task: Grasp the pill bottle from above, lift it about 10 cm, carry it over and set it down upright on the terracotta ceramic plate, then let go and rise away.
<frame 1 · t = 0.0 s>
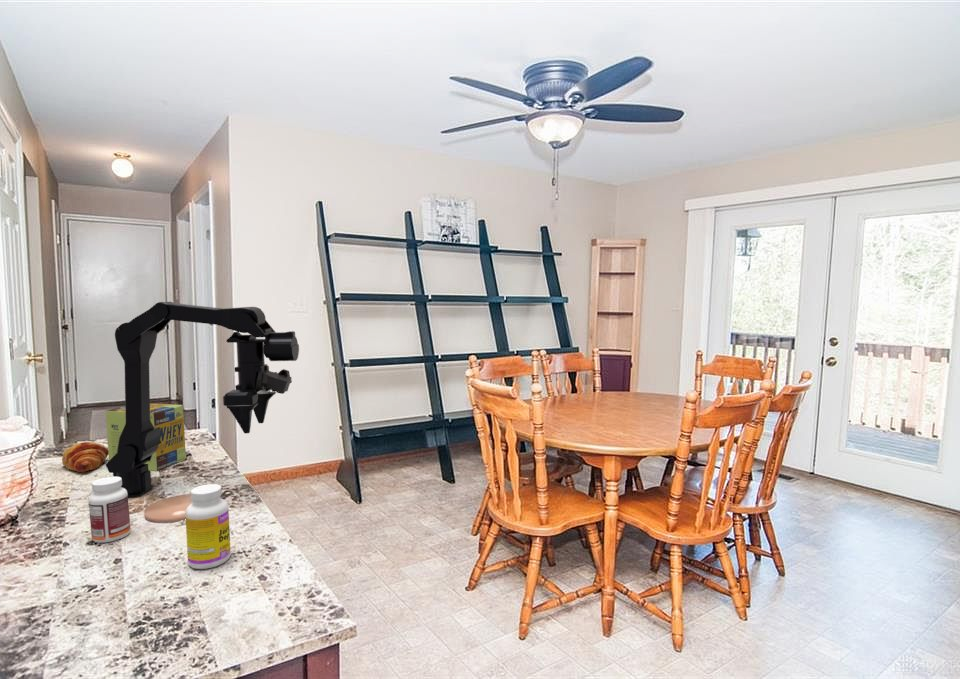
hand: (254, 428, 126), 15 cm above the counter, tool pointing down, fingers open, 9 cm apart
pill bottle: (111, 537, 103), on the counter
protein box: (148, 464, 147), on the counter
terracotta plate: (180, 509, 116), on the counter
croissant: (86, 465, 147), on the counter
supplement bottle: (210, 561, 94), on the counter
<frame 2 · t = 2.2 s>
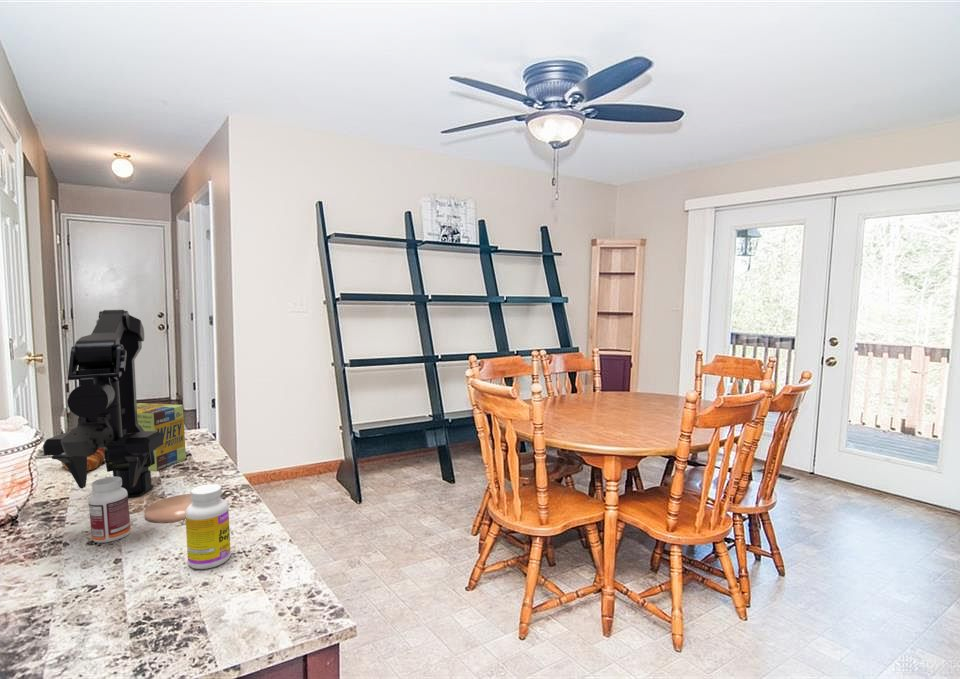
hand: (108, 487, 102), 10 cm above the counter, tool pointing down, fingers open, 9 cm apart
nothing on the counter moved.
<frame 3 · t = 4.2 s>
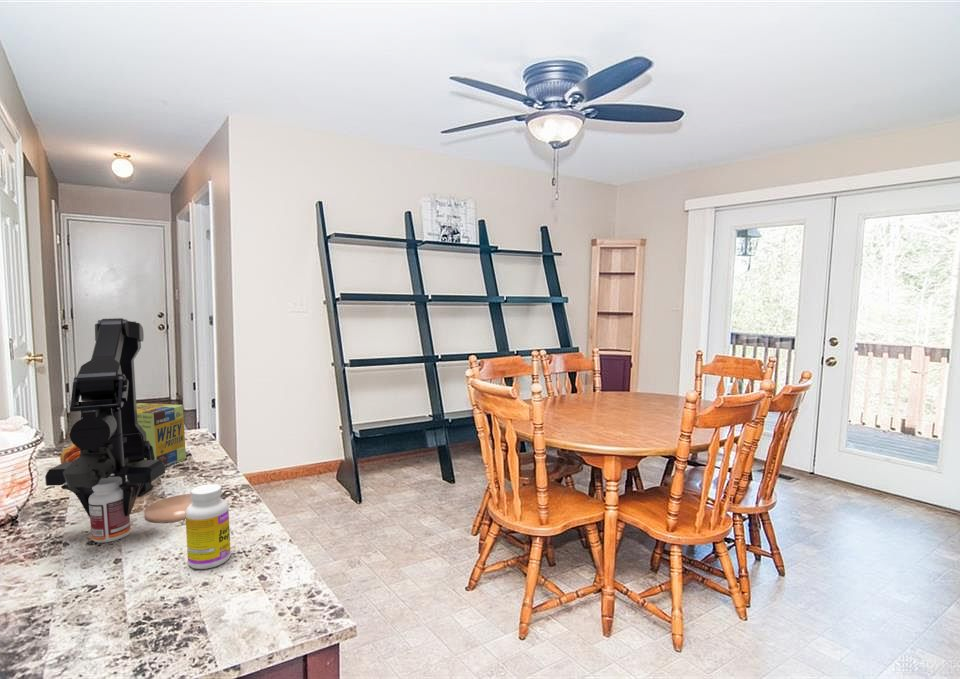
hand: (109, 516, 103), 4 cm above the counter, tool pointing down, fingers closed on pill bottle, 6 cm apart
pill bottle: (111, 537, 103), on the counter, touching gripper
everything else where it was.
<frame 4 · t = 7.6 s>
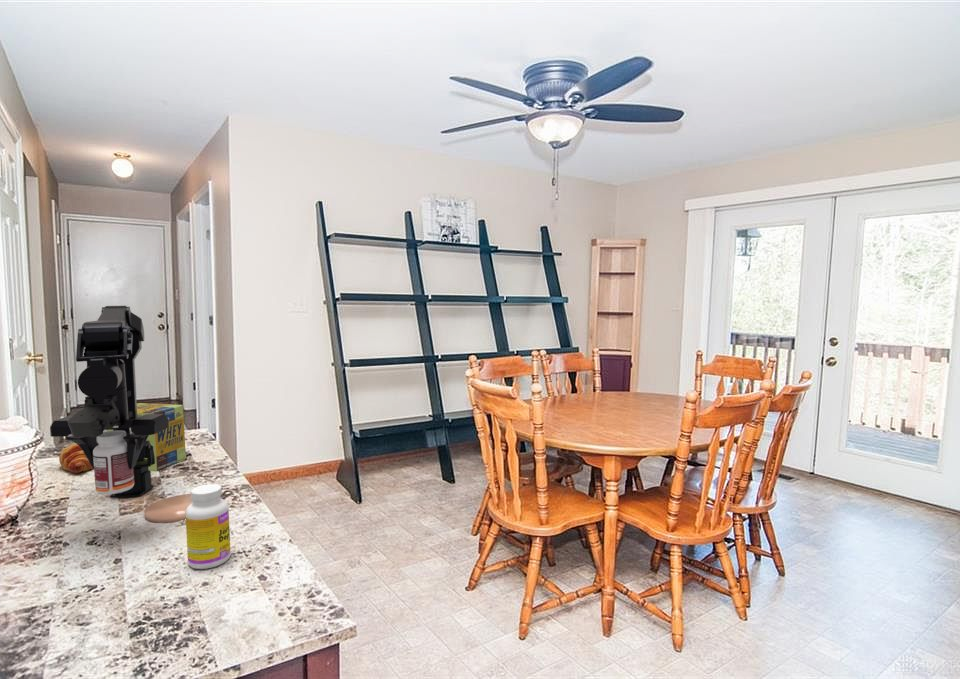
hand: (114, 468, 103), 13 cm above the counter, tool pointing down, fingers closed on pill bottle, 6 cm apart
pill bottle: (115, 490, 104), point 9 cm above the counter, touching gripper
everything else where it was.
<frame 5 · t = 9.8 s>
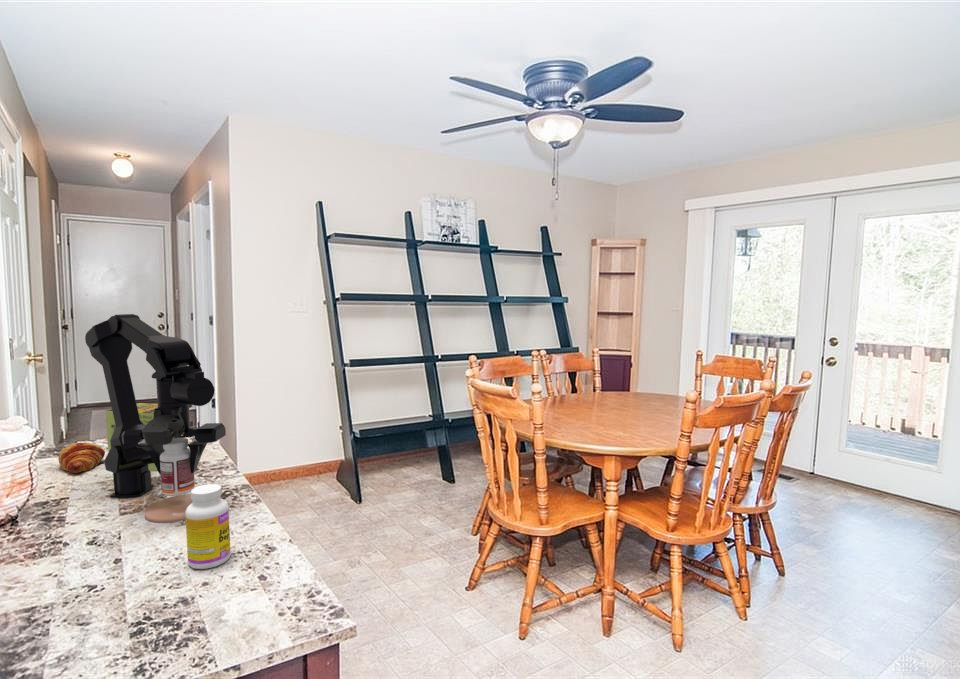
hand: (177, 472, 115), 8 cm above the counter, tool pointing down, fingers closed on pill bottle, 6 cm apart
pill bottle: (178, 492, 115), point 4 cm above the counter, touching gripper
everything else where it was.
when the fingers open (6 cm above the counter, at t = 11.5 s): pill bottle stays where it is, resting on terracotta plate.
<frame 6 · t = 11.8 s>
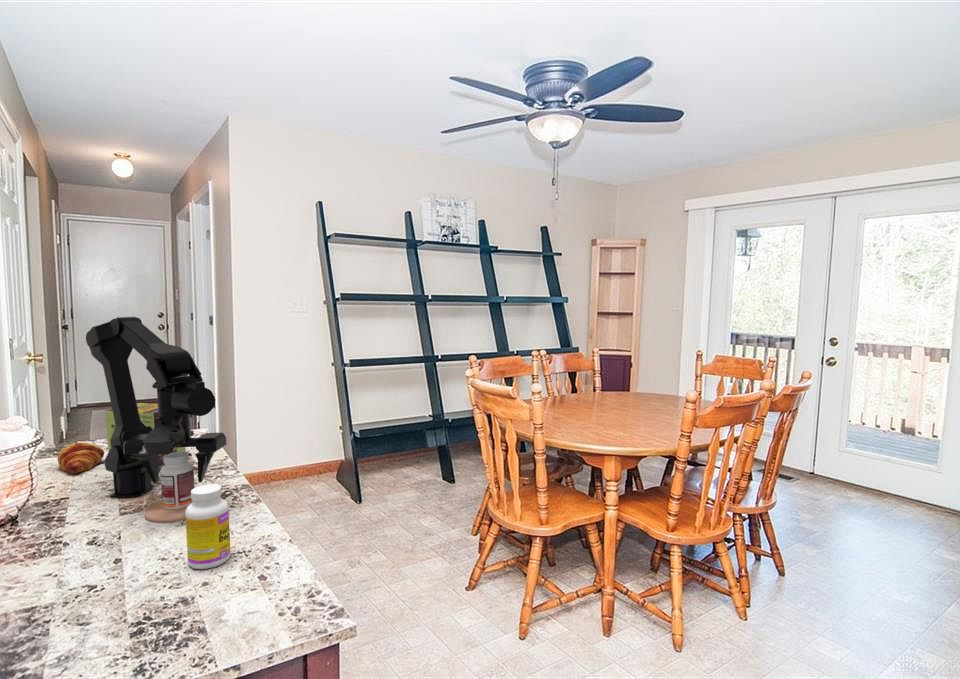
hand: (178, 482, 115), 6 cm above the counter, tool pointing down, fingers open, 9 cm apart
pill bottle: (179, 505, 116), point 1 cm above the counter, touching terracotta plate
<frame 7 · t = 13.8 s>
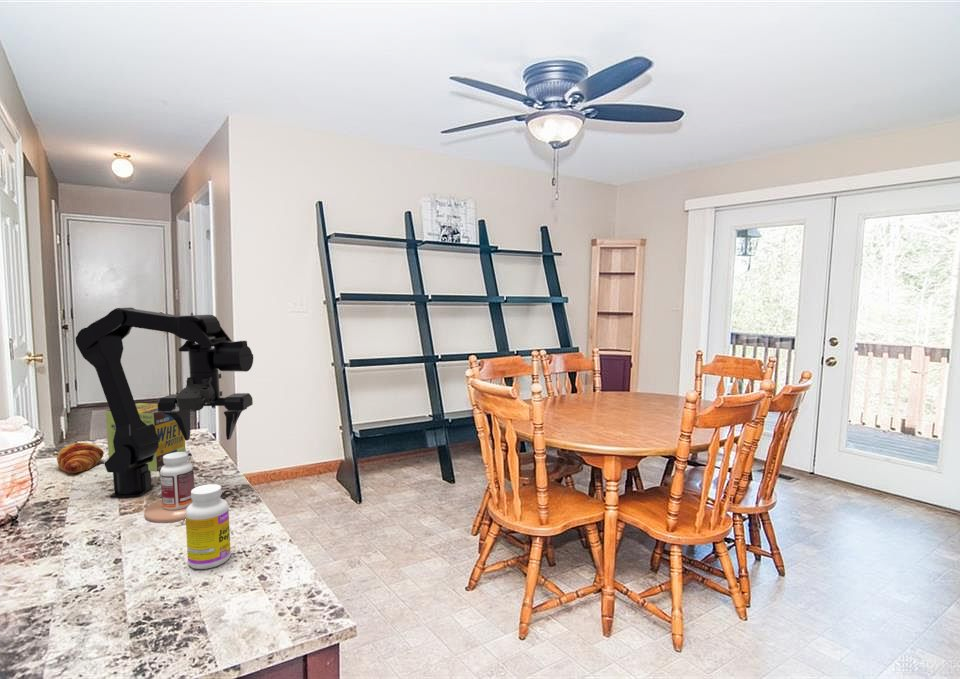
hand: (208, 439, 122), 13 cm above the counter, tool pointing down, fingers open, 9 cm apart
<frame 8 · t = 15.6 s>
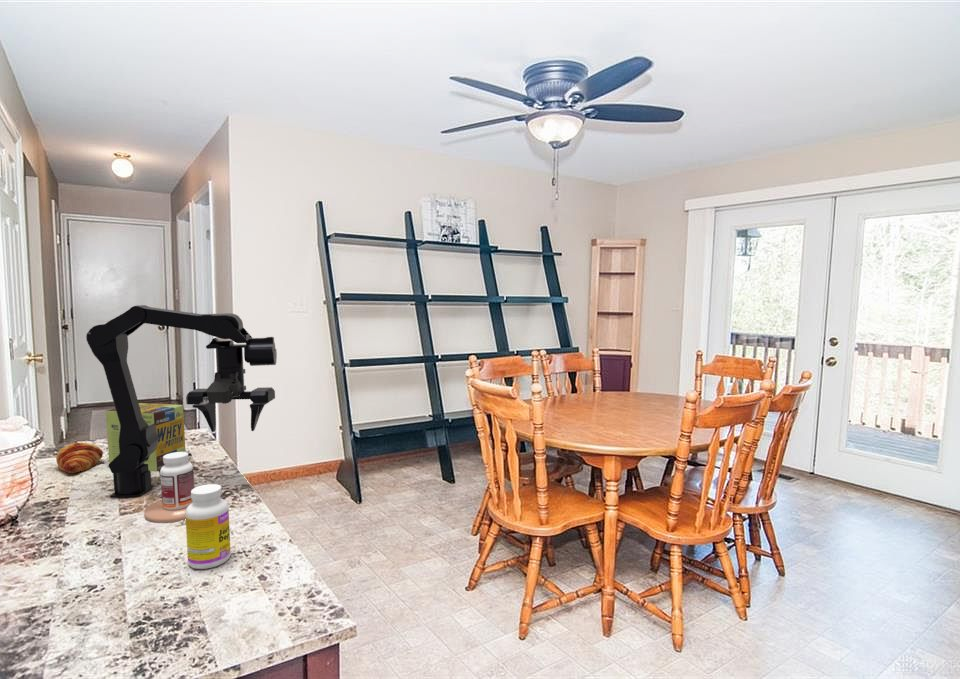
hand: (233, 431, 130), 13 cm above the counter, tool pointing down, fingers open, 9 cm apart
at the end: pill bottle inside the target area on the terracotta plate (0.1 cm from its centre), point 0.8 cm above the terracotta plate's base; pill bottle tilted 0°; the gripper is holding nothing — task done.
